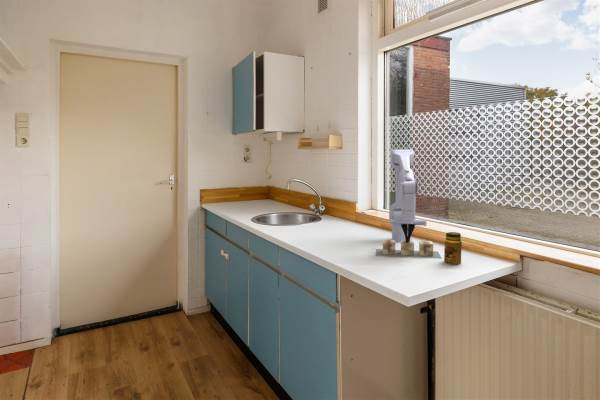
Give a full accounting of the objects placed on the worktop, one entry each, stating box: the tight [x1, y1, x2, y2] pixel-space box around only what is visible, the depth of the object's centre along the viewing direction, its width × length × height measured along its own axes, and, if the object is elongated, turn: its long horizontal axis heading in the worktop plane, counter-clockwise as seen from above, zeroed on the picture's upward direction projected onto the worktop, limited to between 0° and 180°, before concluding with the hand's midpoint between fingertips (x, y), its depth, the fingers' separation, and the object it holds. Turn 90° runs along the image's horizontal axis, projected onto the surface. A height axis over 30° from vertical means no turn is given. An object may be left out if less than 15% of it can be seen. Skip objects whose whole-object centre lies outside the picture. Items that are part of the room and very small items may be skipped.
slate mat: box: [375, 248, 443, 259], centre depth 161 cm, size 26×11×1 cm, turn 79°
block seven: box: [418, 240, 434, 256], centre depth 159 cm, size 5×5×5 cm
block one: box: [382, 239, 396, 255], centre depth 162 cm, size 5×5×5 cm
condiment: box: [443, 231, 463, 266], centre depth 148 cm, size 7×8×12 cm
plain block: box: [400, 240, 415, 255], centre depth 161 cm, size 5×5×5 cm
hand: (407, 242), depth 161 cm, fingers closed, pressing on plain block
